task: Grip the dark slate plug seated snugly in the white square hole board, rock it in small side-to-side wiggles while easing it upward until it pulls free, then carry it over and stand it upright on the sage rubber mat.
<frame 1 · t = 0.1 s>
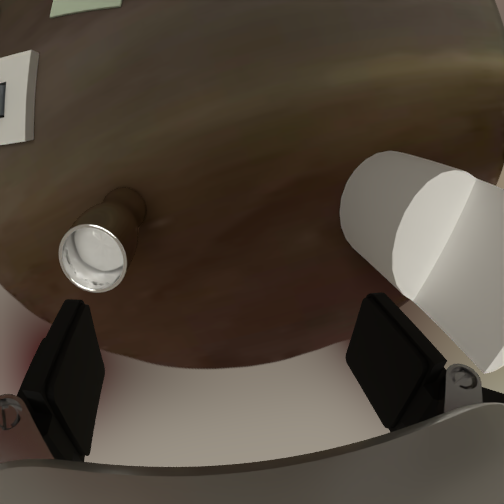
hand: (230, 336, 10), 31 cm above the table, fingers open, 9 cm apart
grey stepped cylindrical piece: (388, 205, 45), on the table
white square hole board: (1, 102, 28), on the table
slate plug: (1, 102, 28), resting in white square hole board
beer glass: (123, 209, 38), on the table
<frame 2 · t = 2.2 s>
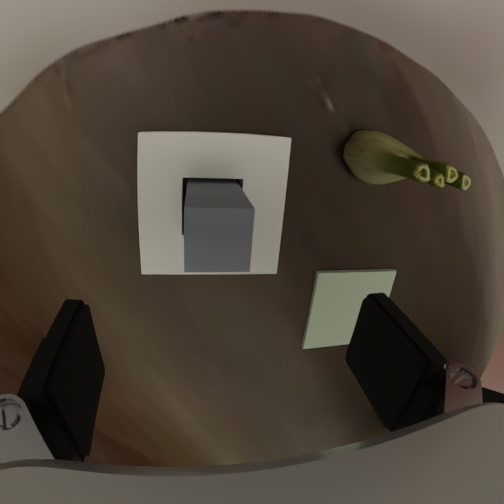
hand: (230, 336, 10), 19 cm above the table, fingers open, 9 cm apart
sage mat: (348, 308, 35), on the table
fennel bulb: (361, 154, 28), on the table
white square hole board: (210, 199, 27), on the table
slate plug: (210, 199, 27), resting in white square hole board
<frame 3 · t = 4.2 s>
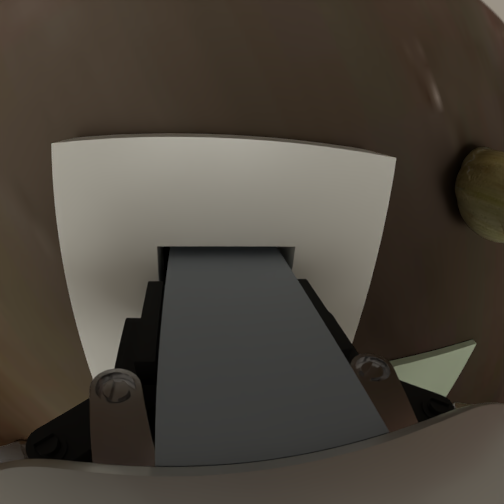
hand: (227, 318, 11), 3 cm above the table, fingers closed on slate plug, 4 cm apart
sage mat: (410, 394, 22), on the table
fennel bulb: (469, 185, 15), on the table
white square hole board: (218, 274, 14), on the table
slate plug: (218, 274, 14), resting in white square hole board, touching gripper
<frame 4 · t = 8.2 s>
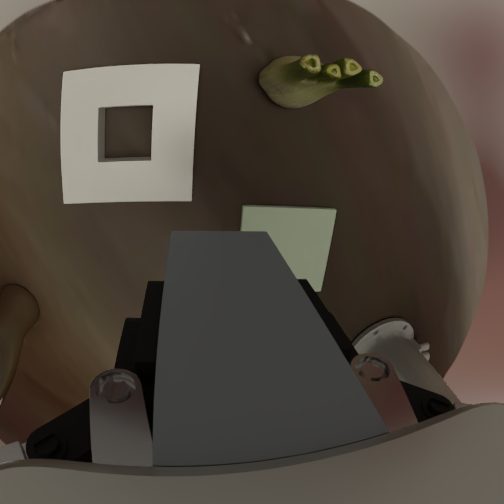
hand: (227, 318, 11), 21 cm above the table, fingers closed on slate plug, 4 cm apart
sage mat: (284, 250, 34), on the table
fennel bulb: (284, 84, 27), on the table
white square hole board: (129, 131, 26), on the table
slate plug: (217, 273, 14), point 17 cm above the table, touching gripper
beer glass: (19, 304, 30), on the table
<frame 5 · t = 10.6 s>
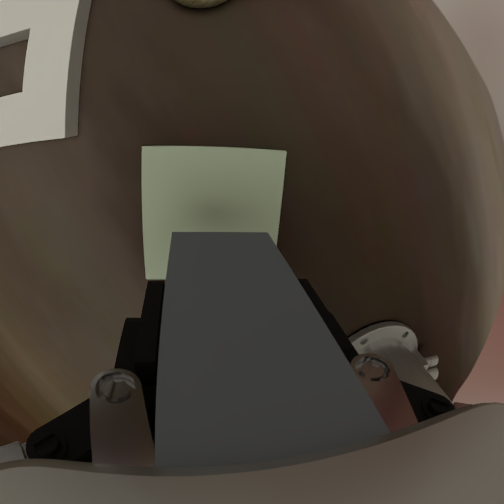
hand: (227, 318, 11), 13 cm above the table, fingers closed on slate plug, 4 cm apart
sage mat: (211, 214, 23), on the table
white square hole board: (16, 69, 15), on the table
slate plug: (218, 274, 14), point 10 cm above the table, touching gripper
when the fingers open (5 cm above the table, at t = 12.4 s): slate plug stays where it is, resting on sage mat.
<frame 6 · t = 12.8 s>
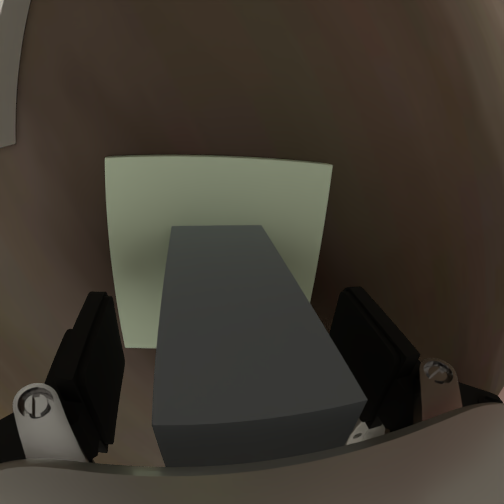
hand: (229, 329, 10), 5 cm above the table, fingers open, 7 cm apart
sage mat: (215, 260, 15), on the table
slate plug: (216, 266, 15), point 1 cm above the table, touching sage mat
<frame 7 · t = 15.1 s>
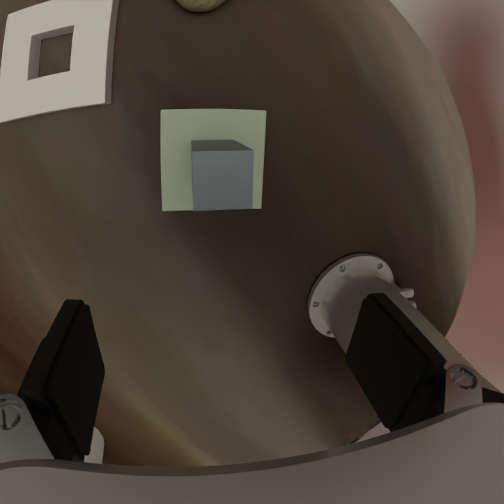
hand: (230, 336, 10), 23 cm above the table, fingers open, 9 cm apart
sage mat: (212, 159, 30), on the table
grey stepped cylindrical piece: (61, 430, 43), on the table
white square hole board: (59, 56, 22), on the table
slate plug: (212, 160, 29), point 1 cm above the table, touching sage mat
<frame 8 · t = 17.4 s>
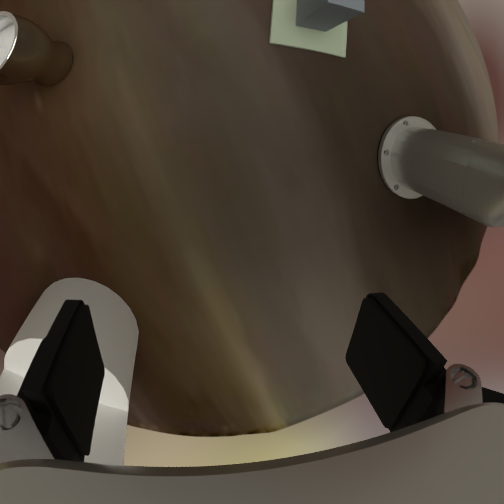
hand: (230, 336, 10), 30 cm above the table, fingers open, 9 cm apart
sage mat: (310, 16, 31), on the table
grey stepped cylindrical piece: (86, 325, 43), on the table
slate plug: (311, 15, 30), point 1 cm above the table, touching sage mat
beer glass: (53, 63, 27), on the table
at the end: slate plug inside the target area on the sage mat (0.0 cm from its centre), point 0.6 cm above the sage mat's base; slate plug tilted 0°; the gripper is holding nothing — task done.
